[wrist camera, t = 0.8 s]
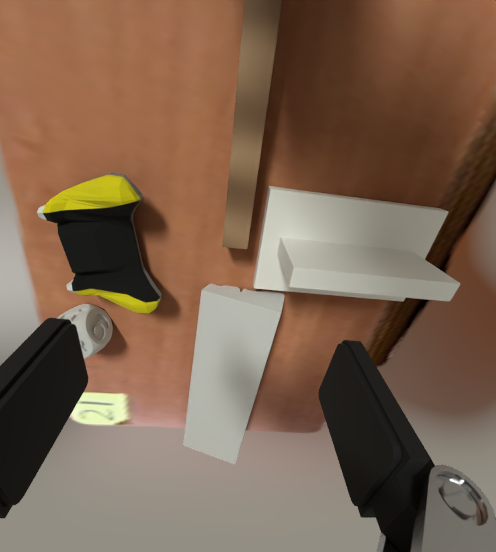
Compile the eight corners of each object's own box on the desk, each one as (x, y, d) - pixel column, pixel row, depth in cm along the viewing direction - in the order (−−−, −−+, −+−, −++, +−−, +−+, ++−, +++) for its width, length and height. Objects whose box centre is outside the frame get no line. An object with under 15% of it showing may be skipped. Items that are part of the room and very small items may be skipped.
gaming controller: (150, 169, 27) (49, 170, 26) (131, 177, 22) (8, 178, 21) (171, 292, 34) (92, 295, 34) (160, 319, 29) (69, 322, 29)
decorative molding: (193, 421, 52) (241, 438, 51) (183, 445, 48) (234, 464, 47) (214, 273, 36) (285, 293, 35) (201, 289, 32) (281, 312, 31)
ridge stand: (268, 186, 28) (282, 207, 20) (439, 208, 30) (512, 235, 22) (253, 282, 34) (258, 328, 26) (397, 295, 36) (443, 341, 28)
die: (63, 309, 34) (39, 335, 30) (97, 299, 34) (77, 324, 29) (86, 336, 37) (66, 364, 32) (118, 327, 36) (102, 354, 32)
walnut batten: (251, -76, 19) (255, -123, 16) (286, -68, 19) (297, -112, 16) (223, 233, 31) (222, 246, 27) (245, 236, 31) (247, 249, 27)
